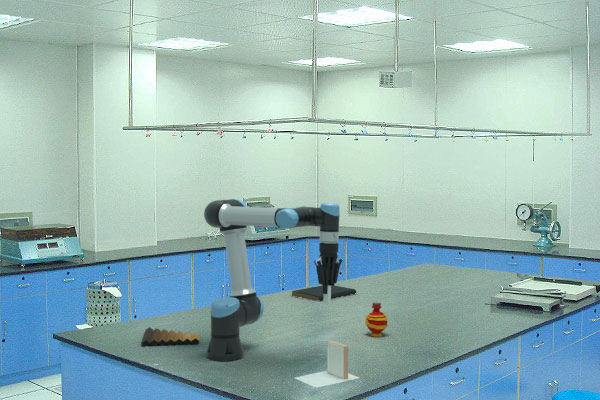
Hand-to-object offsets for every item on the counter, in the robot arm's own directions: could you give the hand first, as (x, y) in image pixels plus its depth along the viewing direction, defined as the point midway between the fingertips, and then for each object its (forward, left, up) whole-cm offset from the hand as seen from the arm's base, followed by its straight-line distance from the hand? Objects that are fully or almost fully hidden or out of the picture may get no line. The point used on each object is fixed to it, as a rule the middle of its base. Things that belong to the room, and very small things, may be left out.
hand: (327, 301), depth 268 cm
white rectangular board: (+18, +8, -25) cm, 32 cm away
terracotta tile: (+14, +10, -24) cm, 30 cm away
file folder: (-137, -59, -26) cm, 151 cm away
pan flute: (-8, -80, -26) cm, 85 cm away
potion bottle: (-53, +3, -25) cm, 58 cm away
